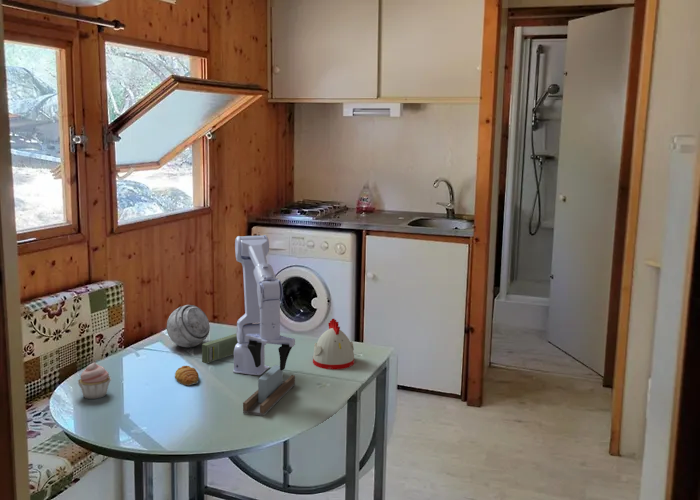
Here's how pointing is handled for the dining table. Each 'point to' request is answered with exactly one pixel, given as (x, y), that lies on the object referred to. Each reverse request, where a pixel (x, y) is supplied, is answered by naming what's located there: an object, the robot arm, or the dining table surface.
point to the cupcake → (94, 381)
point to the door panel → (269, 383)
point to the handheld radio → (219, 348)
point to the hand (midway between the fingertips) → (270, 367)
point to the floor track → (262, 408)
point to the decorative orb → (188, 326)
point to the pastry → (187, 375)
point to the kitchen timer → (333, 349)
